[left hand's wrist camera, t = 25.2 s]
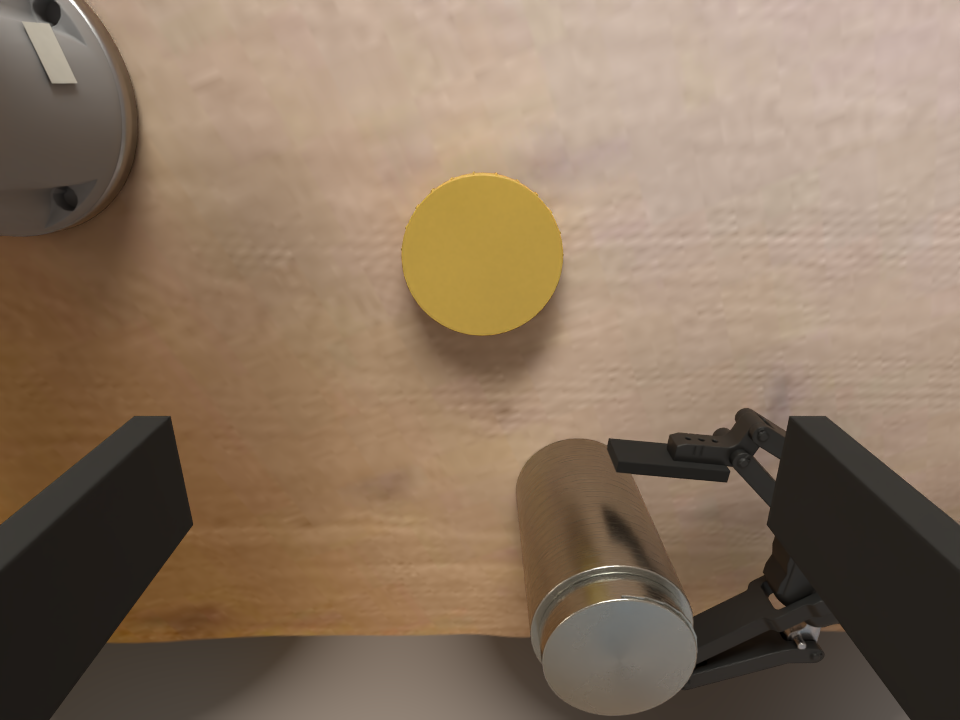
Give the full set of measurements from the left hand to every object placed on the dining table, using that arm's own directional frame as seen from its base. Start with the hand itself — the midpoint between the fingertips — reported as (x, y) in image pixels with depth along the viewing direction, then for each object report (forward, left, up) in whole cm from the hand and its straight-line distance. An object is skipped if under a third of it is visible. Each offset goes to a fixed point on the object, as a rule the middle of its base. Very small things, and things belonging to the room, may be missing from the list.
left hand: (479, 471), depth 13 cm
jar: (+9, -16, -26) cm, 32 cm away
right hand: (+10, -16, -20) cm, 27 cm away
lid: (0, 0, -24) cm, 24 cm away
